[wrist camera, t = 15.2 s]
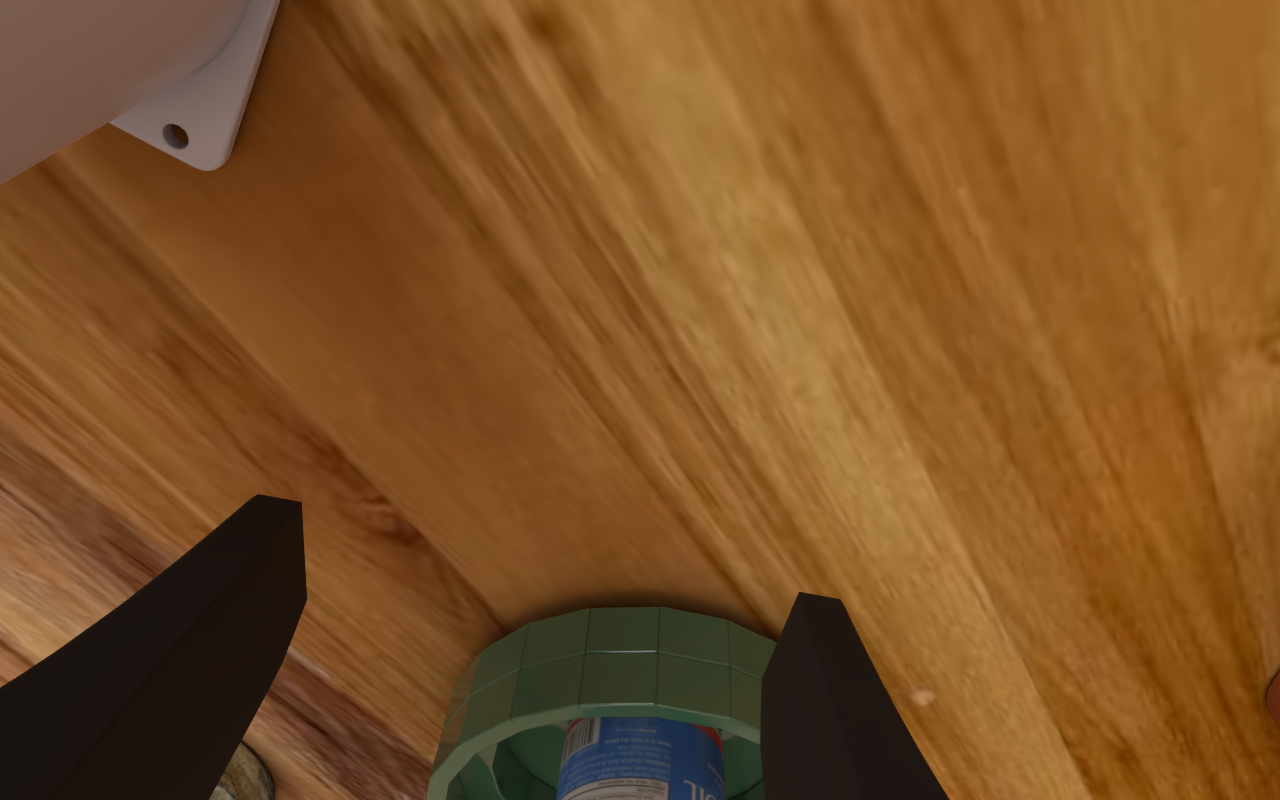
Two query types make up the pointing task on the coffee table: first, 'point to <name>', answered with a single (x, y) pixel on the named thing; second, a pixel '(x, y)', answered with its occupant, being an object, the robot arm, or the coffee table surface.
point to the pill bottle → (641, 760)
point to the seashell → (244, 779)
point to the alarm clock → (1274, 699)
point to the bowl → (599, 696)
